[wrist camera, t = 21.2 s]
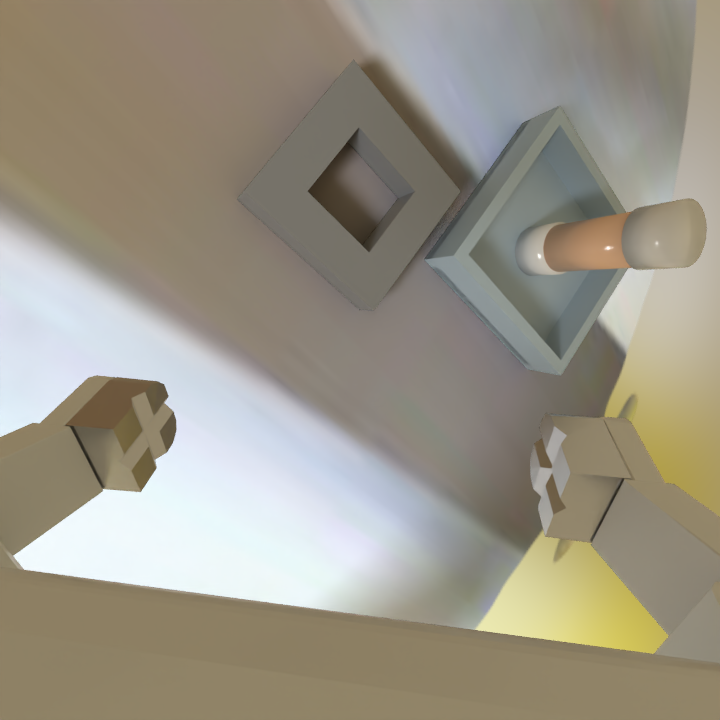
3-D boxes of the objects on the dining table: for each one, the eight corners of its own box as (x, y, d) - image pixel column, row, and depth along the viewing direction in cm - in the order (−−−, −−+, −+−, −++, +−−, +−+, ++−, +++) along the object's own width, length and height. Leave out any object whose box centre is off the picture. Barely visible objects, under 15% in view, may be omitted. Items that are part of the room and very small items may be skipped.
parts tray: (606, 246, 46) (644, 241, 43) (527, 369, 44) (561, 375, 40) (522, 123, 39) (560, 105, 36) (424, 259, 37) (453, 255, 33)
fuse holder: (442, 197, 37) (460, 191, 35) (359, 309, 35) (373, 310, 33) (339, 76, 32) (353, 59, 30) (236, 199, 30) (243, 191, 28)
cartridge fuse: (557, 249, 42) (714, 231, 30) (533, 285, 41) (684, 281, 30) (532, 216, 40) (689, 183, 28) (507, 253, 39) (657, 235, 28)
